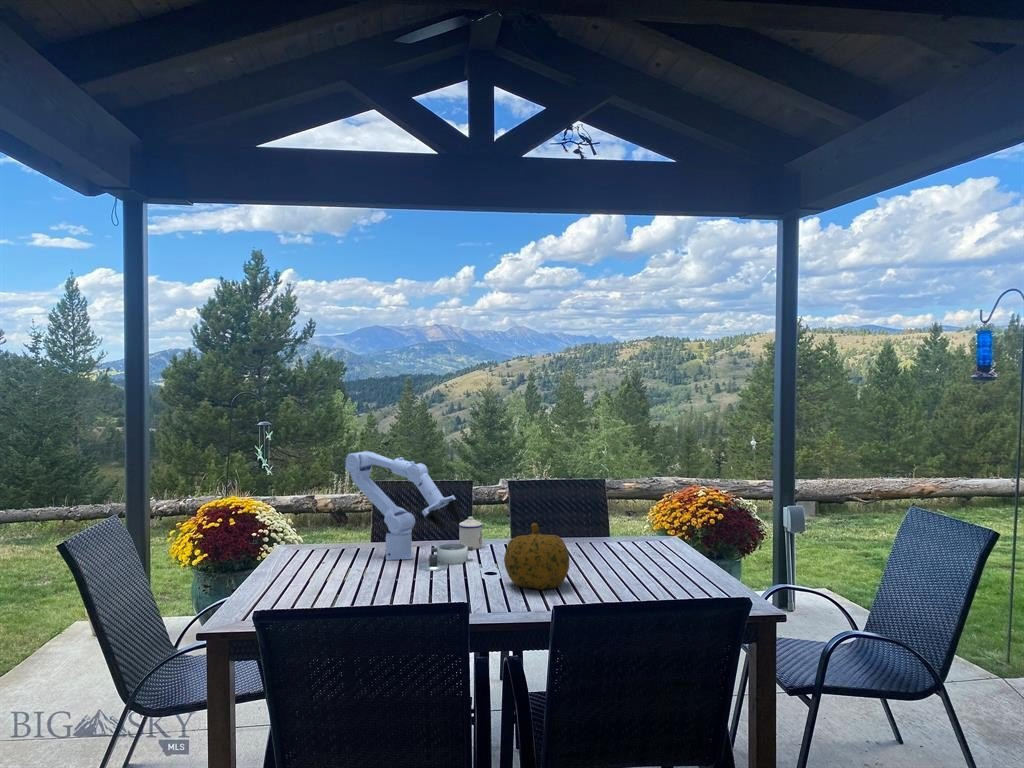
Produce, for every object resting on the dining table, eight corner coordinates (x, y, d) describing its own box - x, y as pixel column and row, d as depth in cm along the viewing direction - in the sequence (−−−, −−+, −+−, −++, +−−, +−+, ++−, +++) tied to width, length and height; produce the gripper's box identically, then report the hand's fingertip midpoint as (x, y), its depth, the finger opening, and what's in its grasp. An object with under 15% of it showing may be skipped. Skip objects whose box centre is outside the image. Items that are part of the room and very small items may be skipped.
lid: (418, 572, 245) (418, 559, 245) (418, 565, 255) (418, 552, 255) (448, 571, 246) (448, 558, 246) (447, 564, 256) (447, 551, 256)
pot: (432, 565, 254) (432, 550, 254) (431, 557, 265) (431, 543, 265) (474, 563, 256) (474, 549, 256) (471, 556, 267) (471, 542, 267)
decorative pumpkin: (553, 596, 214) (550, 527, 216) (494, 591, 226) (491, 526, 227) (584, 583, 231) (581, 519, 233) (527, 579, 243) (524, 518, 244)
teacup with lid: (484, 549, 278) (484, 518, 278) (461, 550, 275) (461, 519, 275) (477, 542, 289) (477, 512, 289) (455, 543, 287) (455, 514, 287)
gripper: (421, 494, 252) (442, 527, 248) (450, 480, 262) (471, 511, 259) (412, 504, 256) (433, 536, 253) (441, 490, 267) (462, 521, 263)
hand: (452, 524), depth 256 cm, fingers open, 7 cm apart
